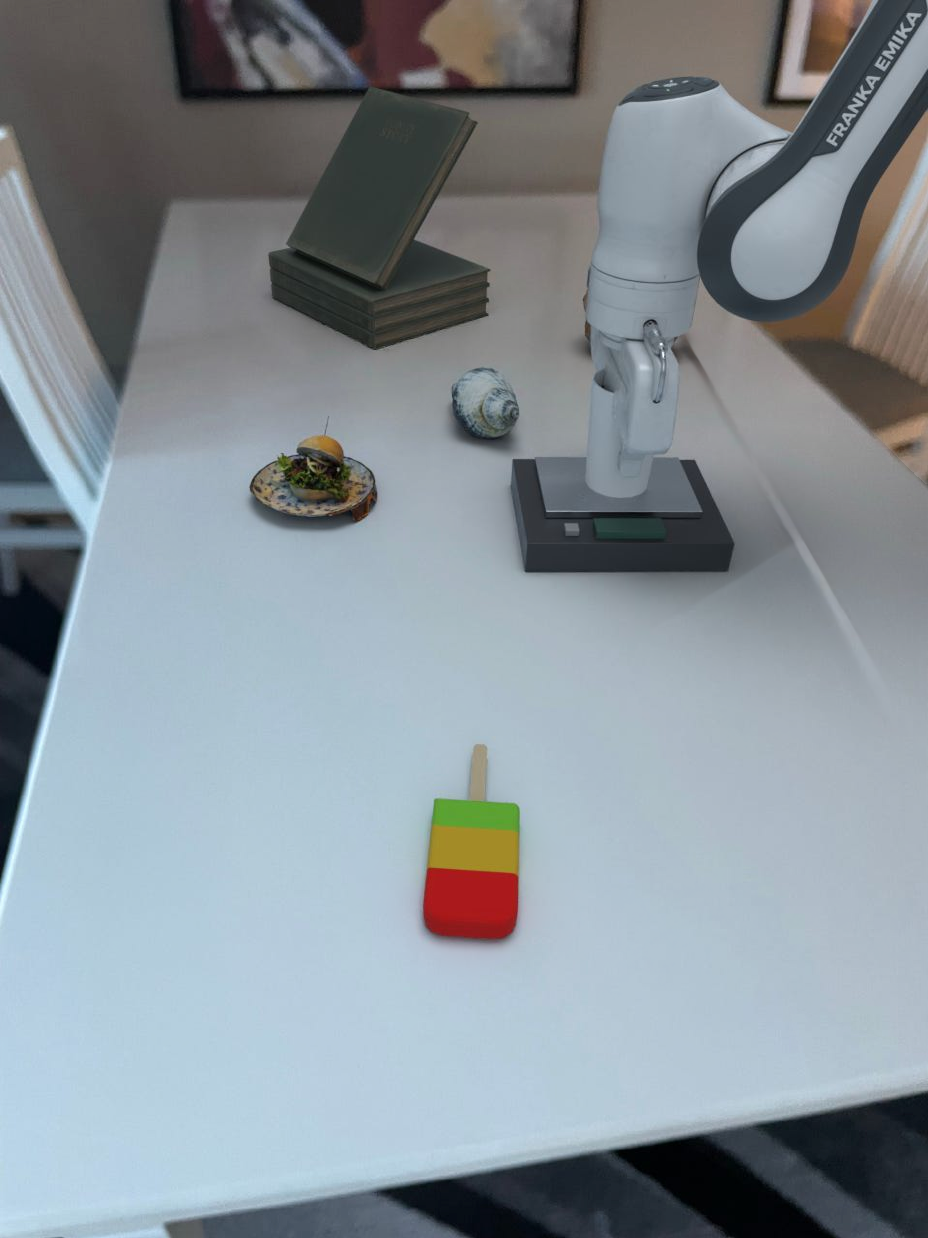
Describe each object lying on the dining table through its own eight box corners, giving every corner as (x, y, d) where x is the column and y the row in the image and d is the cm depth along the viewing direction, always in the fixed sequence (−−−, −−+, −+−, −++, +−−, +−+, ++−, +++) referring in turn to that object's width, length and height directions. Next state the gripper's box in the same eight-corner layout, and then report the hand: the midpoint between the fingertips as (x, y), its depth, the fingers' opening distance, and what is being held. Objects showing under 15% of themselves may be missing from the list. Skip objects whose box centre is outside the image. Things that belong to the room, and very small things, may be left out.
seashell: (505, 417, 114) (501, 467, 104) (447, 388, 112) (437, 436, 103) (532, 370, 111) (530, 417, 101) (472, 340, 109) (464, 384, 99)
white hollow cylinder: (640, 507, 89) (657, 403, 83) (570, 489, 91) (581, 387, 85) (660, 474, 94) (678, 373, 88) (593, 458, 96) (605, 359, 90)
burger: (229, 491, 96) (220, 420, 92) (331, 456, 102) (327, 388, 98) (297, 546, 89) (290, 472, 84) (402, 504, 95) (401, 433, 91)
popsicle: (420, 938, 57) (420, 918, 56) (440, 752, 69) (440, 732, 68) (516, 944, 57) (518, 924, 56) (519, 756, 69) (521, 737, 68)
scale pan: (677, 463, 97) (678, 457, 96) (701, 518, 89) (702, 511, 89) (534, 463, 96) (534, 456, 96) (545, 517, 88) (546, 511, 88)
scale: (690, 485, 100) (696, 451, 97) (728, 571, 88) (736, 535, 85) (510, 485, 99) (512, 451, 96) (524, 572, 87) (527, 535, 85)
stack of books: (271, 297, 138) (254, 96, 123) (384, 270, 148) (380, 81, 133) (373, 350, 124) (367, 131, 109) (488, 315, 135) (498, 111, 120)
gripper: (709, 350, 74) (679, 511, 82) (654, 260, 90) (634, 402, 98) (624, 350, 73) (603, 511, 82) (585, 260, 90) (571, 402, 98)
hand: (620, 451), depth 90 cm, fingers open, 7 cm apart
